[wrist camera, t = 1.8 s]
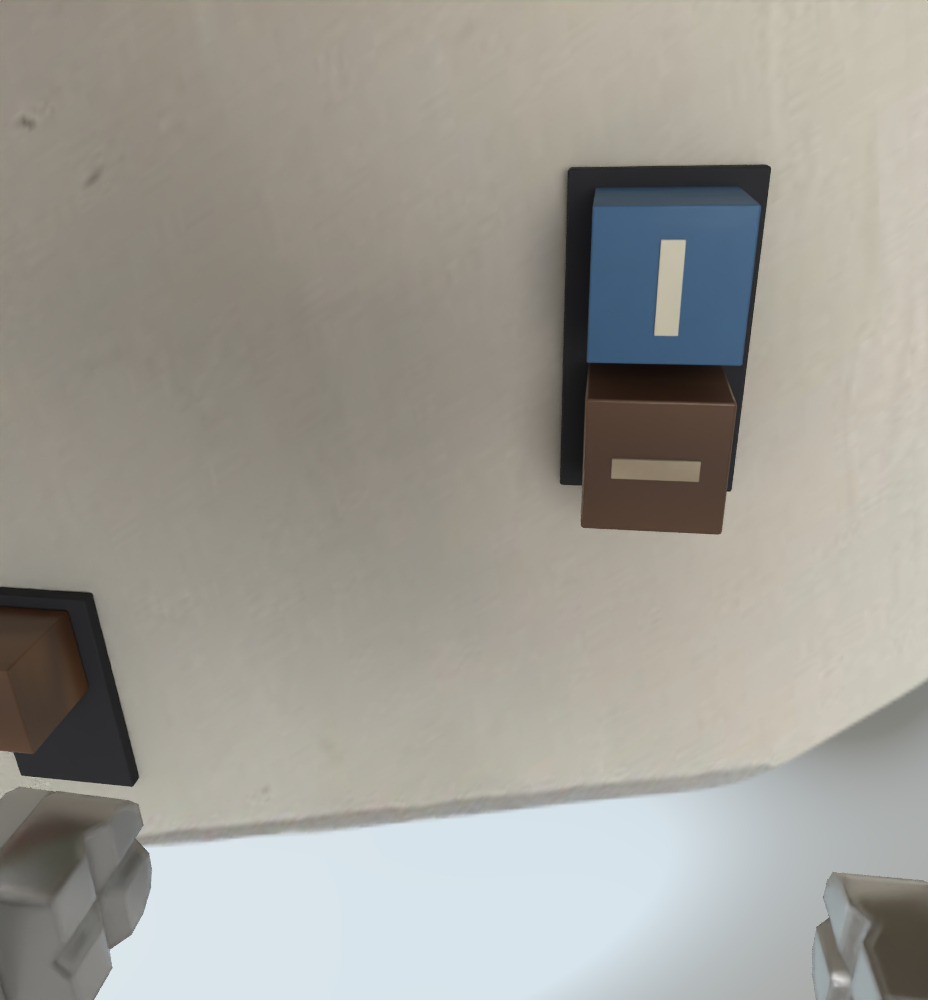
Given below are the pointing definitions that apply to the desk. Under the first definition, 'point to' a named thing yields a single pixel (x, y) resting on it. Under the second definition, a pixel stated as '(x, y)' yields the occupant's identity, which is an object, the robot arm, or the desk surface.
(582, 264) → the mat
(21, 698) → the tile
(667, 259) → the blue cube
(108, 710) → the mat
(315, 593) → the desk surface
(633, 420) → the brown cube
